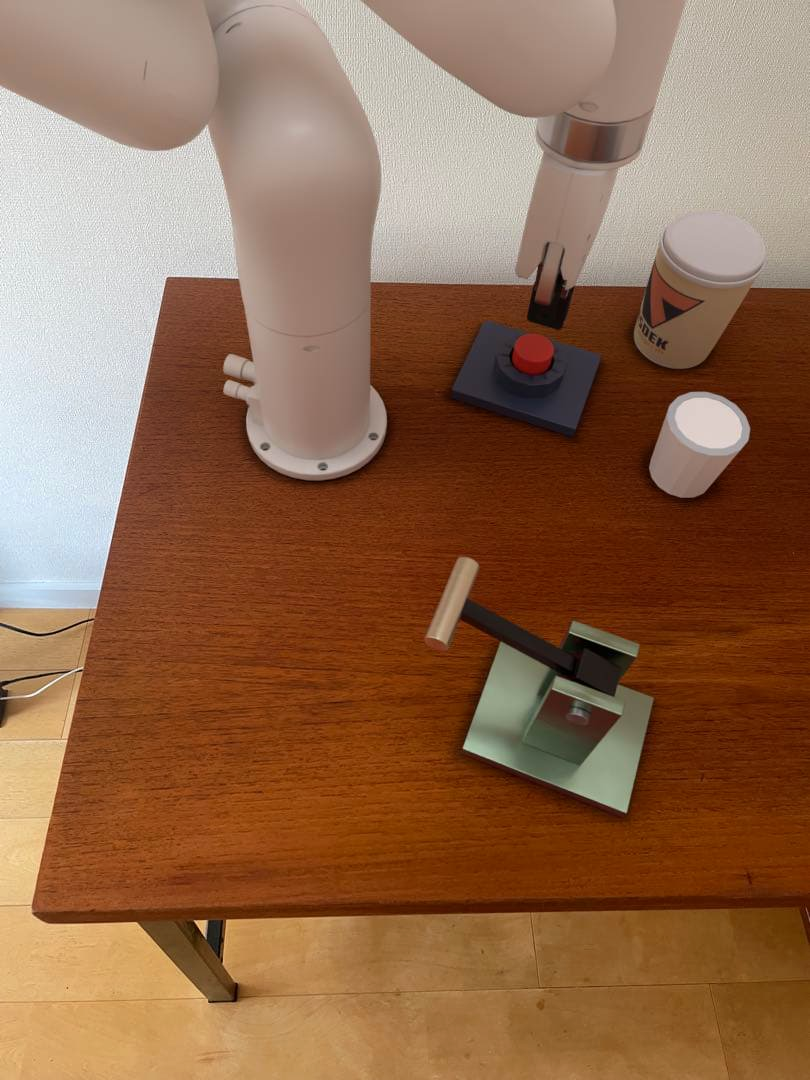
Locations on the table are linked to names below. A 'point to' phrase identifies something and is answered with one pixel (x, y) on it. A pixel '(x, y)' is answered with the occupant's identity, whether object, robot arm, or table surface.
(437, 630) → the lever
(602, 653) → the bracket
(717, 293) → the coffee cup
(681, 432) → the white cylinder
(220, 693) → the table surface
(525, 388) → the button block
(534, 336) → the button
